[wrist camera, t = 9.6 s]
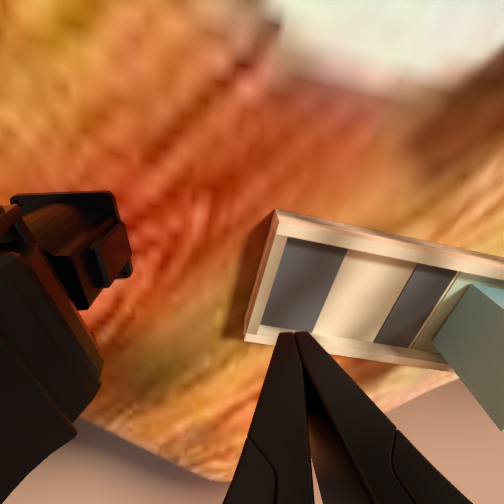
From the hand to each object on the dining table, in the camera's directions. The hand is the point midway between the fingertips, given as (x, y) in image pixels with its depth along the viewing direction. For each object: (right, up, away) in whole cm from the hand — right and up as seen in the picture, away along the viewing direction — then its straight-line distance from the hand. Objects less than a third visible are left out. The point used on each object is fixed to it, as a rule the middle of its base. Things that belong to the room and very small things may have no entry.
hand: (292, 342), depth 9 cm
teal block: (+16, -3, +15) cm, 22 cm away
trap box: (+9, -1, +15) cm, 18 cm away
